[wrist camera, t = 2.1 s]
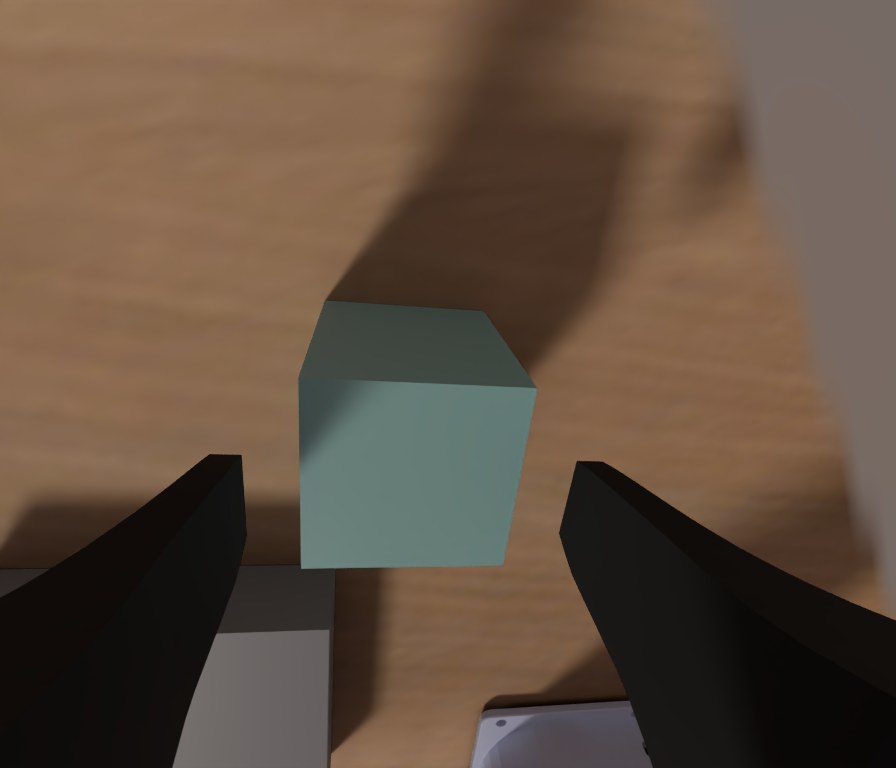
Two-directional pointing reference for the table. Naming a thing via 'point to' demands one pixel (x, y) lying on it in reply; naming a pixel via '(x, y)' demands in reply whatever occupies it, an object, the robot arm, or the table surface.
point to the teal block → (409, 438)
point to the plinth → (260, 673)
